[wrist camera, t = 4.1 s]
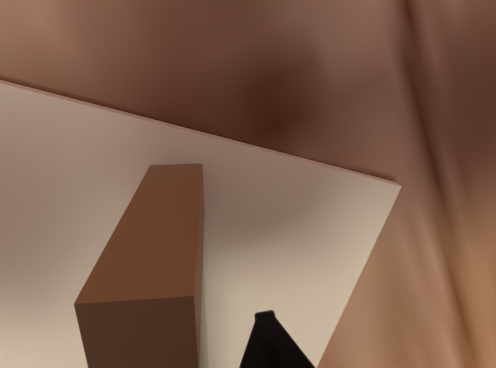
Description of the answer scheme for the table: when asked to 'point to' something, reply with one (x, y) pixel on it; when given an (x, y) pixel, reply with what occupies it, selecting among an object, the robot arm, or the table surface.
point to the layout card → (215, 226)
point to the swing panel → (151, 279)
